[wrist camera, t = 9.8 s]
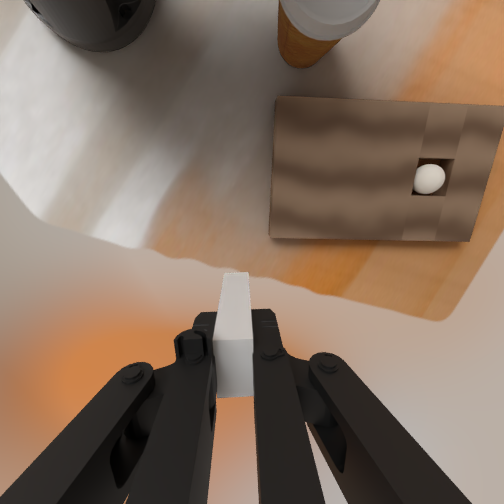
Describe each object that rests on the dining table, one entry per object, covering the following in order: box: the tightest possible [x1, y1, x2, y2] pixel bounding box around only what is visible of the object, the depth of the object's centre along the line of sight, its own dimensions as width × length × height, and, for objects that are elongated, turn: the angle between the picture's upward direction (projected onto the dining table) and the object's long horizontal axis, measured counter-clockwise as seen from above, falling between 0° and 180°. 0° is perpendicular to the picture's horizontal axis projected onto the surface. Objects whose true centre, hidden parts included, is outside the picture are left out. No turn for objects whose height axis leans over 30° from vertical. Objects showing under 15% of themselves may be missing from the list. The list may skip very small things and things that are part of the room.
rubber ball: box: [413, 164, 445, 194], centre depth 35 cm, size 4×4×4 cm
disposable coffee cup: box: [277, 0, 380, 68], centre depth 25 cm, size 10×10×12 cm
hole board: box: [269, 96, 504, 242], centre depth 35 cm, size 18×30×2 cm, turn 88°
